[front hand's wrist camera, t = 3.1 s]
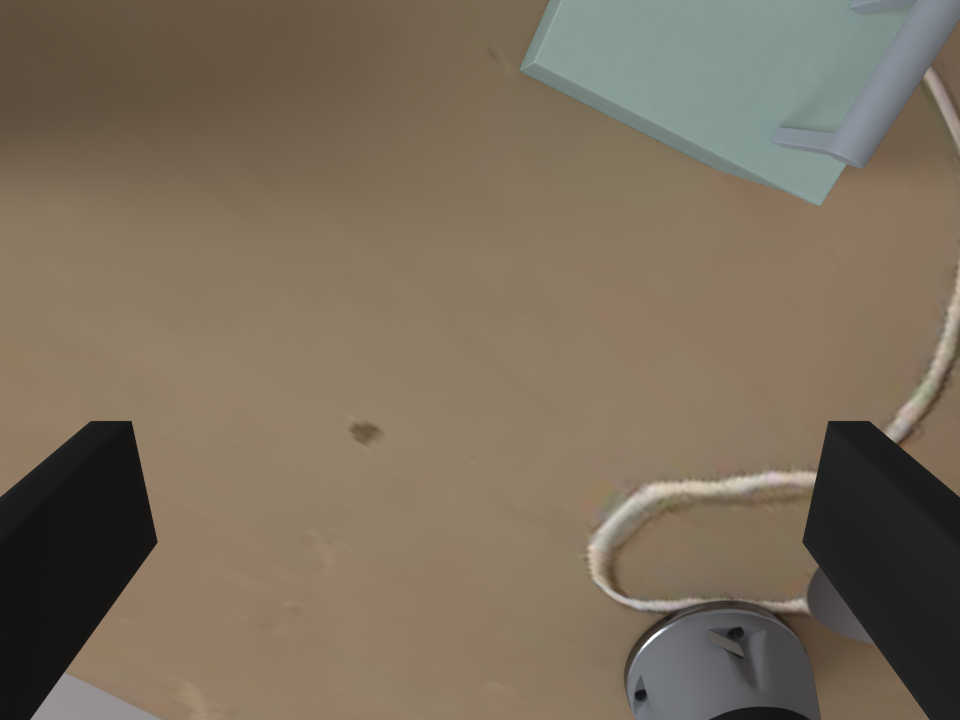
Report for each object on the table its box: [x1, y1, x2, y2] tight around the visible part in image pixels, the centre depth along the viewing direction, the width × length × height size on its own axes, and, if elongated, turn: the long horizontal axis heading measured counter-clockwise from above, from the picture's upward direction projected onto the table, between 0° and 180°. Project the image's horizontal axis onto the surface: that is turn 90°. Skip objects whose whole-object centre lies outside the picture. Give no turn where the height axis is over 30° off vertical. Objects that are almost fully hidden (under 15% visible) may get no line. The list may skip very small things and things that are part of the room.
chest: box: [519, 0, 789, 193], centre depth 34 cm, size 14×9×11 cm
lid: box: [533, 0, 960, 206], centre depth 26 cm, size 15×9×8 cm, turn 66°
